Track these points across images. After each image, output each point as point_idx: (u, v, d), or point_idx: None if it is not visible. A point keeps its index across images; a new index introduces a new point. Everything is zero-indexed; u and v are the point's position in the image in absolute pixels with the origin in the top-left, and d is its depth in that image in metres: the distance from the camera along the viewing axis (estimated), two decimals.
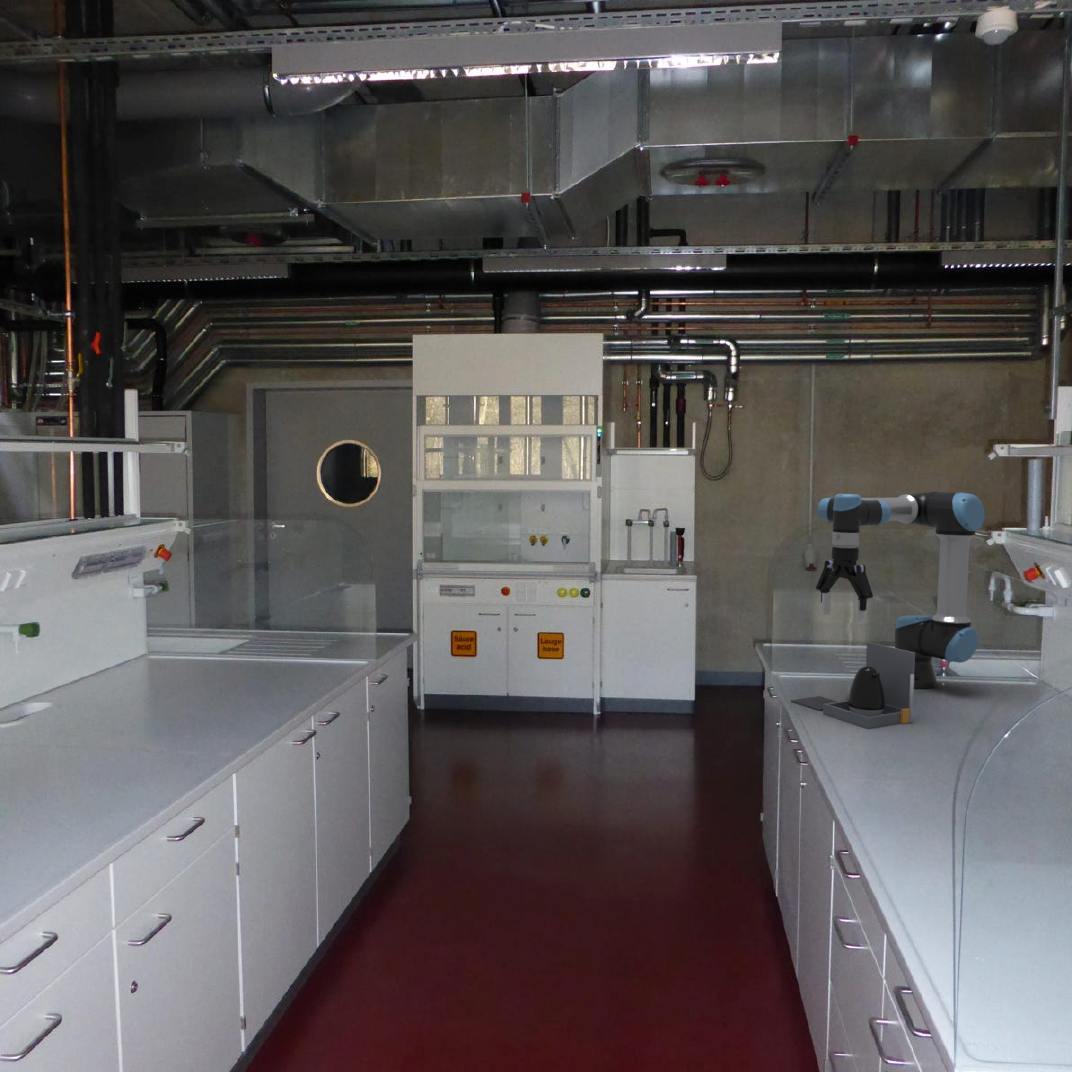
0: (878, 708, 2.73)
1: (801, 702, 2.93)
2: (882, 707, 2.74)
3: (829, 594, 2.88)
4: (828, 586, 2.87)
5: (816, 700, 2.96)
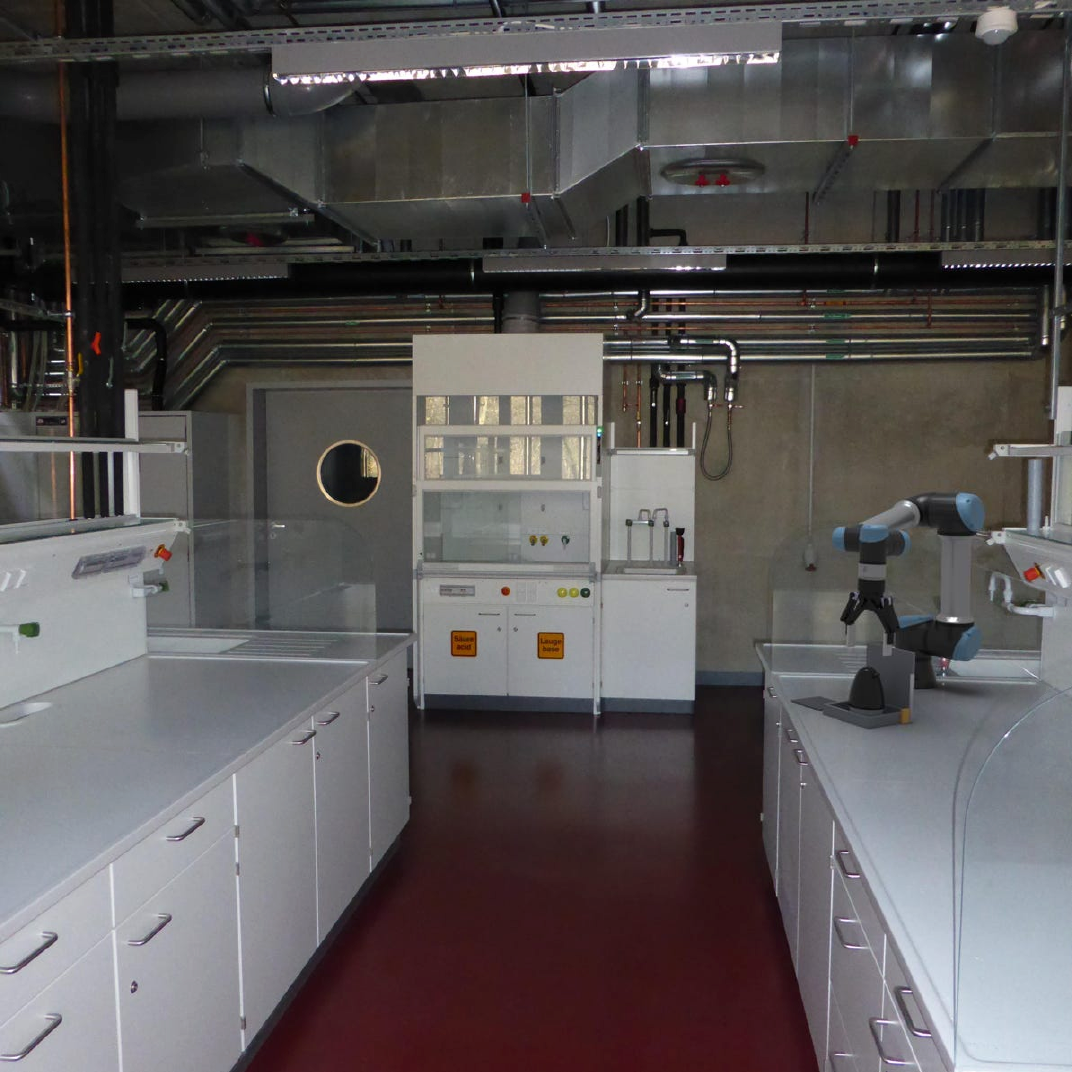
0: (878, 708, 2.73)
1: (801, 702, 2.93)
2: (882, 707, 2.74)
3: (854, 626, 2.82)
4: (853, 618, 2.81)
5: (816, 700, 2.96)
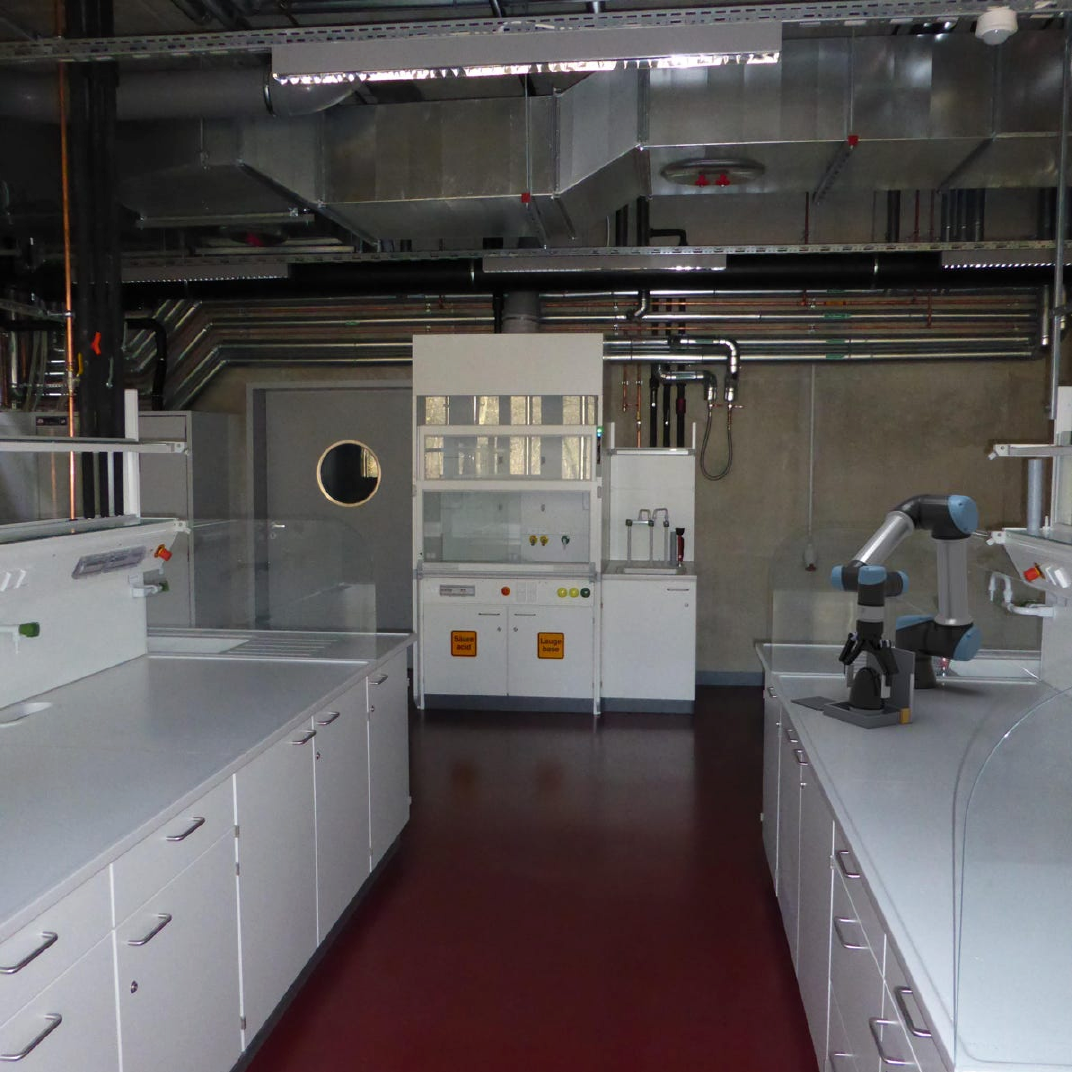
0: (878, 708, 2.73)
1: (801, 702, 2.93)
2: (882, 707, 2.74)
3: (852, 666, 2.83)
4: (851, 659, 2.82)
5: (816, 700, 2.96)
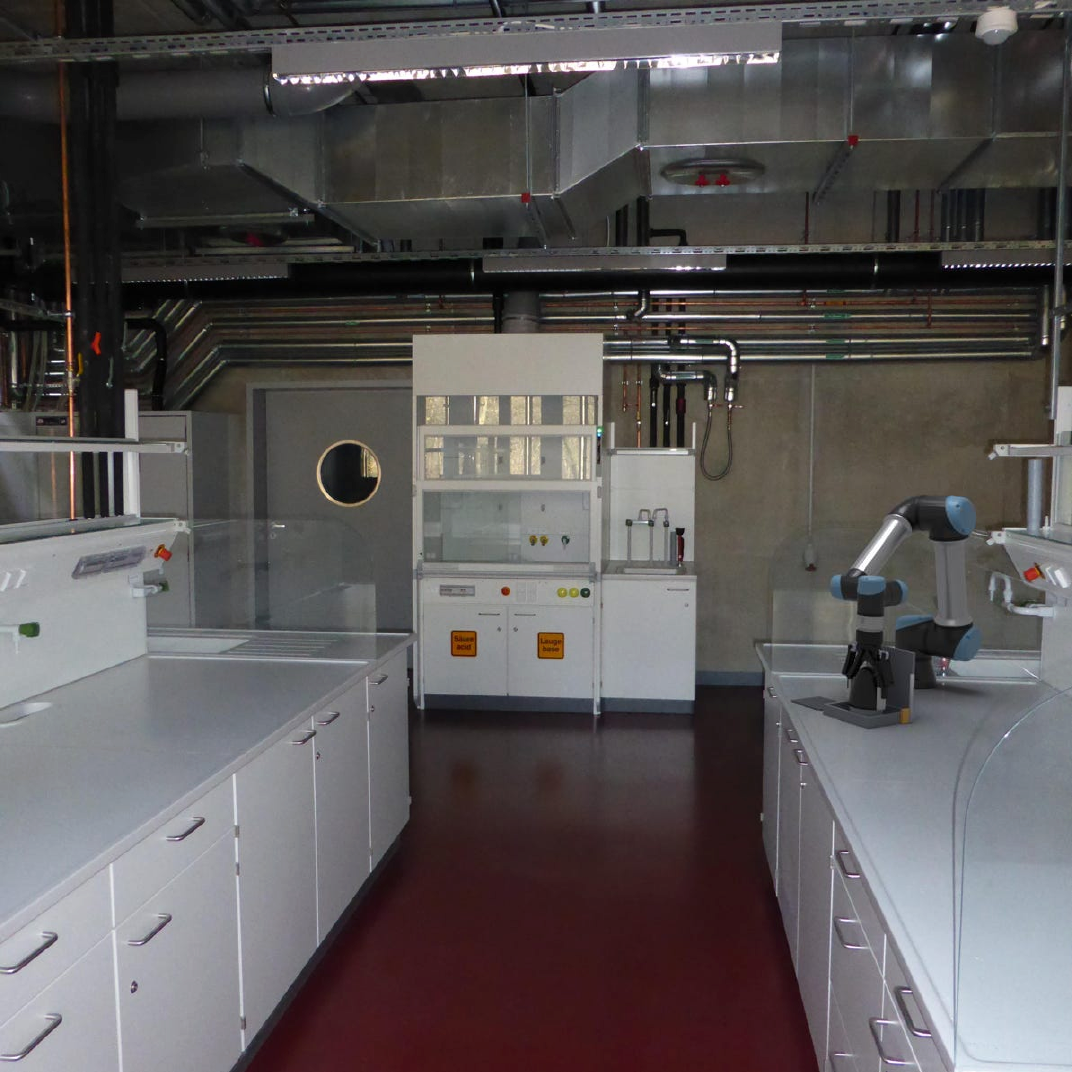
0: None
1: (801, 702, 2.93)
2: None
3: None
4: (854, 671, 2.81)
5: (816, 700, 2.96)
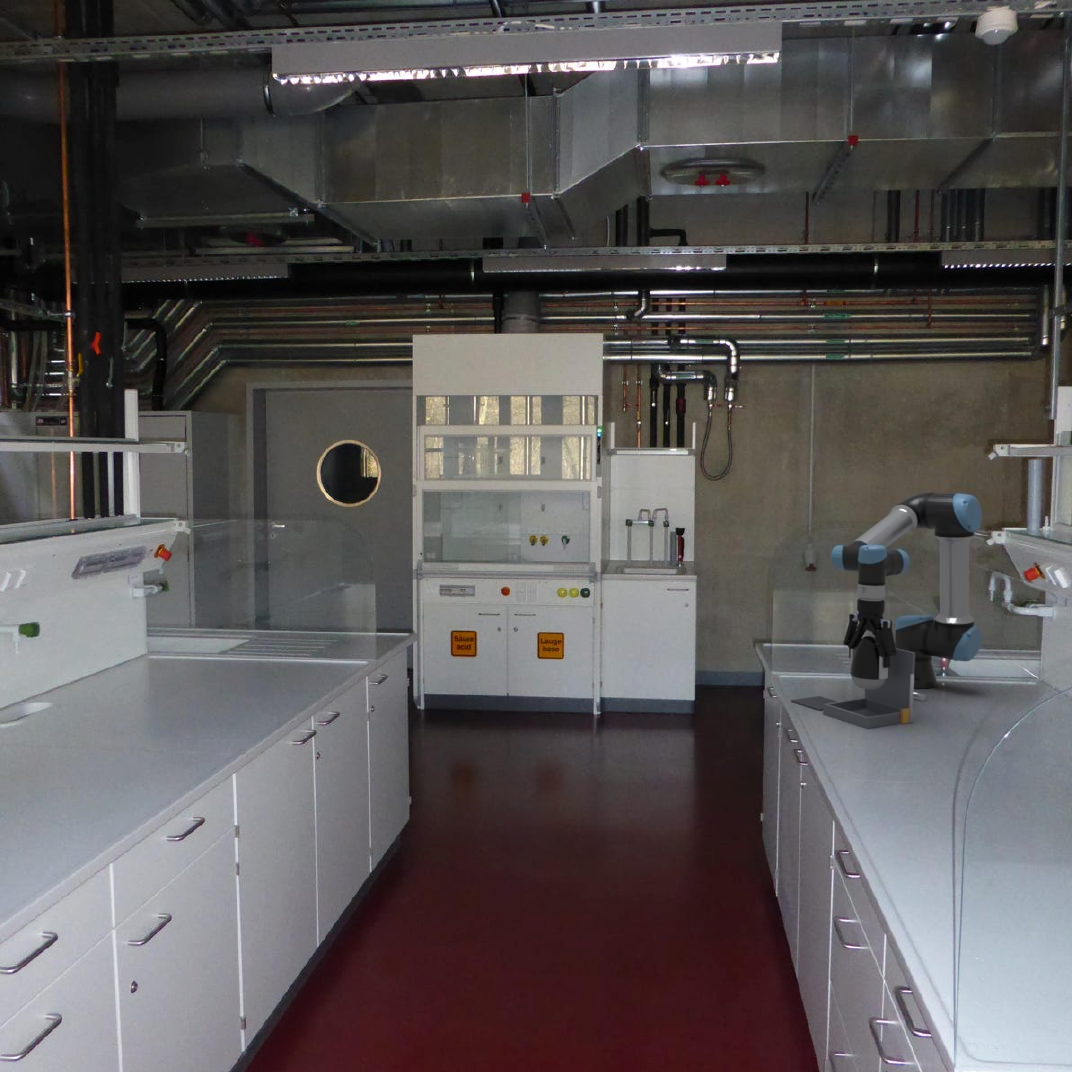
0: None
1: (801, 702, 2.93)
2: None
3: None
4: (856, 641, 2.80)
5: (816, 700, 2.96)
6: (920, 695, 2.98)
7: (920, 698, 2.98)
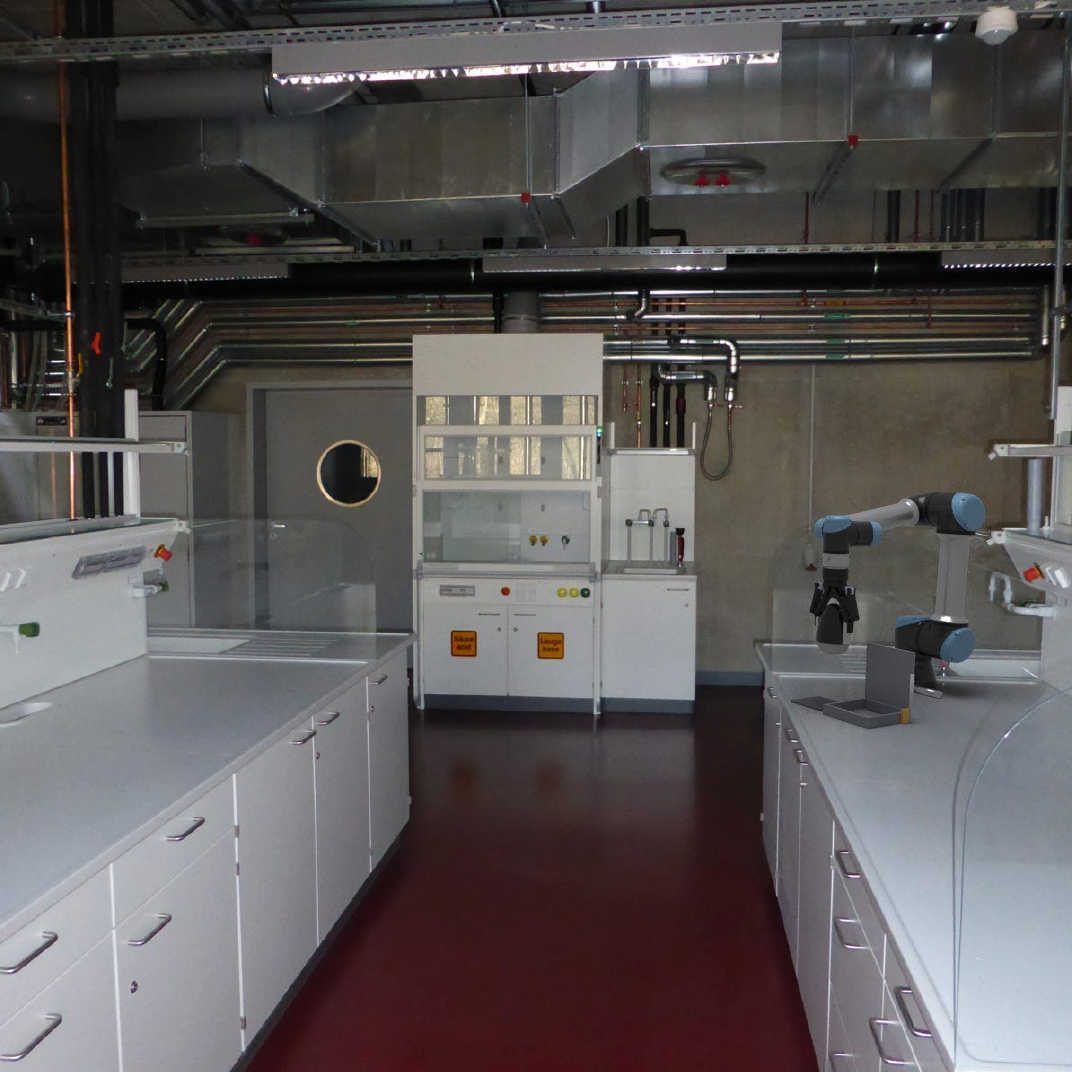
0: None
1: (801, 702, 2.93)
2: None
3: None
4: (821, 608, 2.91)
5: (816, 700, 2.96)
6: (938, 691, 3.02)
7: (937, 693, 3.02)
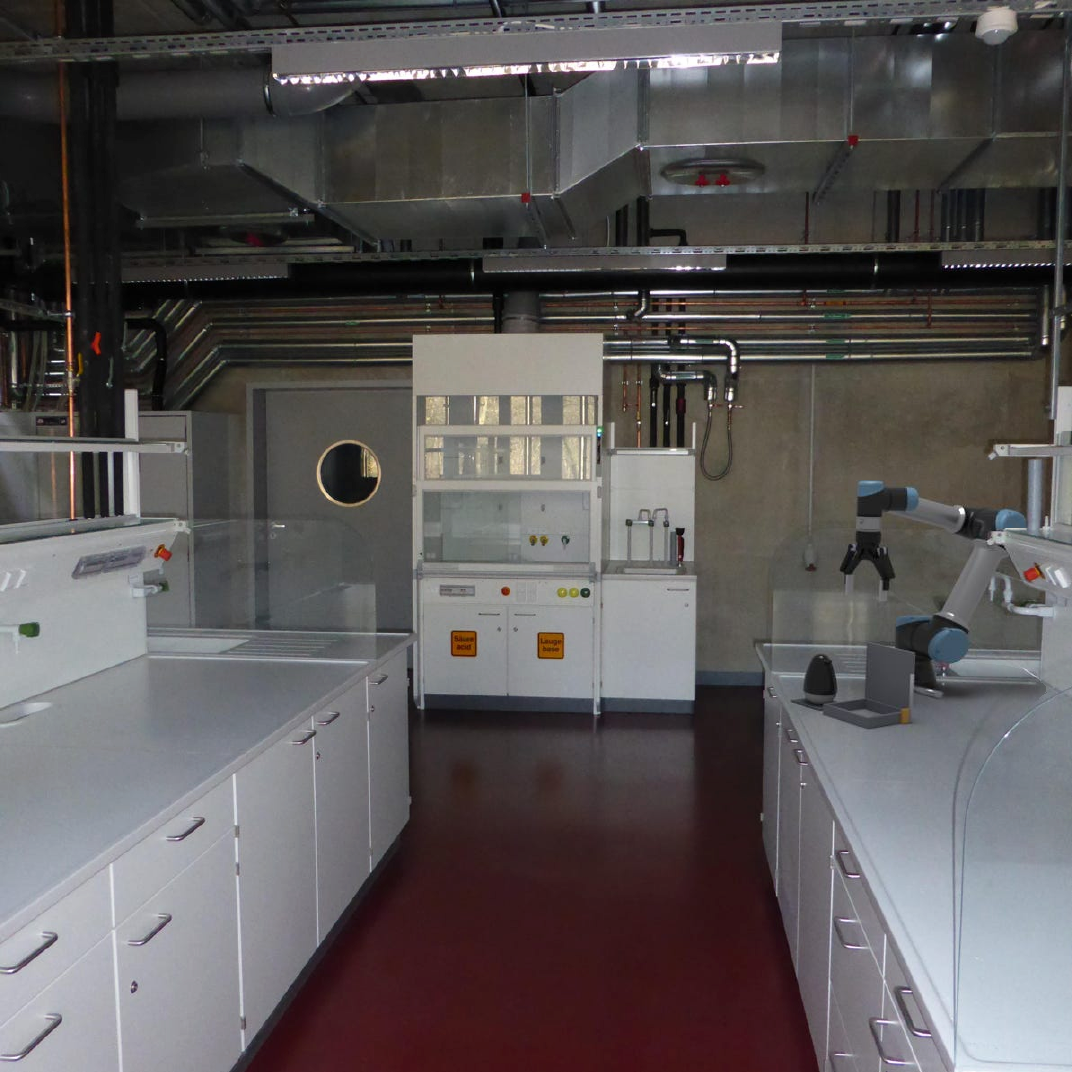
0: (830, 693, 2.88)
1: (801, 702, 2.93)
2: (834, 692, 2.89)
3: (852, 575, 3.05)
4: (851, 568, 3.03)
5: None
6: (939, 691, 3.02)
7: (938, 692, 3.02)
